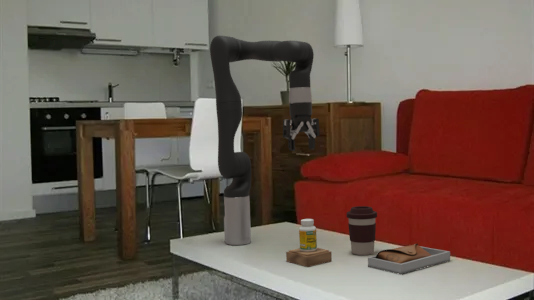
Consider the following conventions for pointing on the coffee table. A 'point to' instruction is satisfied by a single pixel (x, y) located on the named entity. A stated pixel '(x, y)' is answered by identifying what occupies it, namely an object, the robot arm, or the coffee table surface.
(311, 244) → the supplement bottle
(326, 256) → the walnut base
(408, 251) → the brown elongated piece
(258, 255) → the coffee table surface
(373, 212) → the coffee cup
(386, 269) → the tray
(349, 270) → the coffee table surface
